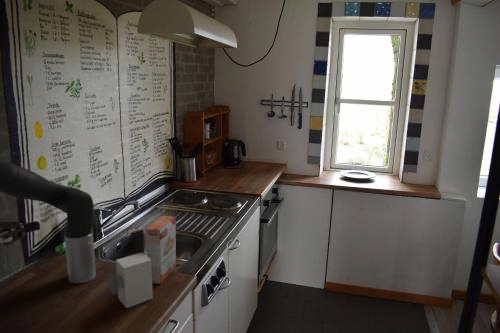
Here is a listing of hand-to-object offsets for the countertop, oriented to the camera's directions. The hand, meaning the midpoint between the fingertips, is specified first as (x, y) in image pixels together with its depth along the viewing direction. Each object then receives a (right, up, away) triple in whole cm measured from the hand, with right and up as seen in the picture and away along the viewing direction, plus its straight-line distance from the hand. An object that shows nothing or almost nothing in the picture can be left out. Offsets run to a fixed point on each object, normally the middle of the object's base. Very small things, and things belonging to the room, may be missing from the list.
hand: (38, 225), depth 106 cm
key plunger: (+17, -23, +18) cm, 34 cm away
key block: (+20, -28, +21) cm, 41 cm away
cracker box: (+26, -24, +37) cm, 51 cm away
